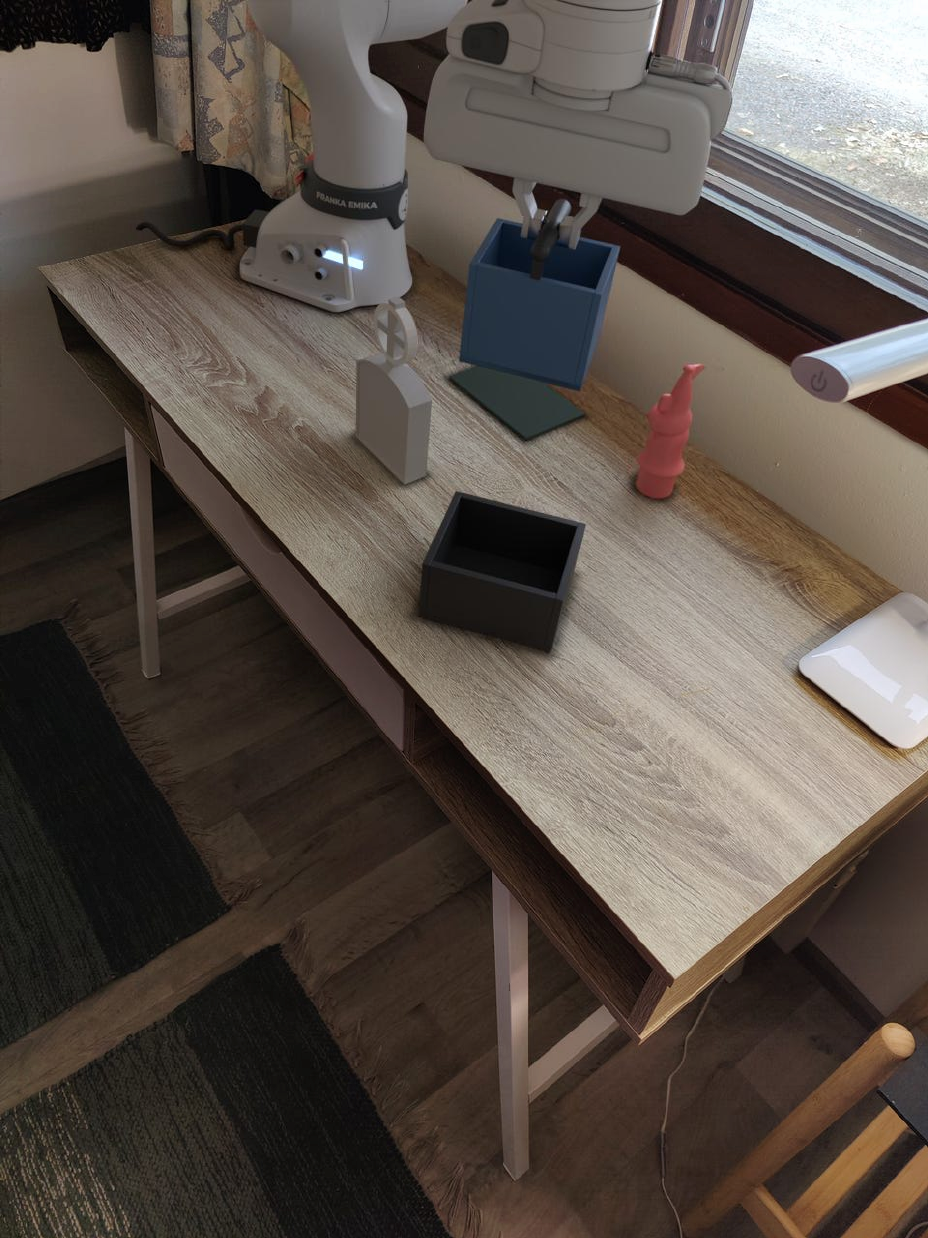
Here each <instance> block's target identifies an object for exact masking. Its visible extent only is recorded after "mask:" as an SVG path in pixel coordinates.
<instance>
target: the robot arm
mask: <svg viewBox="0 0 928 1238" xmlns="http://www.w3.org/2000/svg"><path fill="white" fill-rule="evenodd" d="M245 1H246V5H247V8H248V9H247V10H248V11H249V15H250V17H251V19H252V21H253V22H254V24H255V26H256V27H257V29H258V30H259V32H260V34H261V35H263V37H264V38H265V39H266V40H267V41H268V42H269V43H270V44H272V45H273V46H274V47H276V48H277V49H278V50H279V51H280V52H282V54H283V55H284V56H286V58H287V59H288V60H289V61H290V62H291V64H292V65H293V66H294V68H295V69H296V71H297V74H298V75H299V77H300V79H301V81H302V84H303V87H304V89H305V92H306V95H307V100H308V104H309V111H310V121H311V137H312V152H311V153H310V154H309V155H308V156H307V158H306V162H305V163H304V164H303V165H301V166H300V168H299V172H297V174H296V175H295V176H294V178H293V179H294V180H295V182H294V187H295V188H297V187H298V186H299V187H300V190H298V191H297V192H296V193H294V194H292V195H291V196H289V197H288V198H286V199H284V200H283V201H282V202H280V203H279V204H277V205H276V206H275V207H273V208H272V209H271V210H270V211H266V210H261V209H256V208H255V209H254V210H253V211H252V213H251V214H249V216H248V217H247V218H246V219H245V220H244V221H243V222H242V223H241V224H237V225H234V226H232V227H230V229H229V230H228V232H227V234H226V233H225V232H224V231H222V230H219V229H208V230H204V231H202V232H201V233H198V234H197V235H195V236H193V237H191V238H189V239H185V240H177V239H173V238H170V237H168V236H167V235H165V234H164V233H162V231H161V230H159V228H157V226H155V225H154V224H153V223H151V222H149V221H142V222H140V223H139V224H138V225H137V226H136V227H135V230H136V231H143V230H144V229H148V230H150V231H151V232H152V233H153V234H154V235H155V236H156V237H157V238H158V239H159V240H160V241H162V242H164V243H165V244H167V245H168V246H172V247H177V248H187V247H191V246H193V245H196V244H197V243H199V242H201V241H202V240H205V239H207V238H209V237H219V238H221V239H222V241H223V243H224V245H225V248H226V249H227V250H230V251H231V250H232V249H234V248H235V235H236V234H237V233H238V232H242V241H243V246H245V247H248V249H246V250H245V252H244V253H243V254H242V257H241V259H240V262H239V276H240V278H241V279H242V280H243V281H245V282H247V283H251V284H253V285H257V286H259V287H262V288H265V289H268V290H270V291H273V292H276V293H278V294H282V295H284V296H287V297H290V298H292V299H296V300H298V301H301V302H304V303H306V304H309V305H312V306H315V307H316V308H319V309H323V310H326V311H327V312H328V311H329V312H332V313H342V312H345V311H348V310H351V309H354V308H358V307H366V306H367V307H368V306H376V305H377V306H378V305H379V304H381V303H384V302H388V299H390V298H394V297H397V296H399V297H400V298H401V297H402V296H404V295H406V294H407V293H408V292H409V290H411V288H412V285H413V276H412V273H411V269H410V265H409V258H408V252H407V243H406V232H405V231H406V228H405V222H406V220H407V215H408V209H409V208H408V206H409V174H408V170H407V169H406V157H407V156H406V154H407V152H406V151H407V134H408V133H407V131H408V111H407V107H406V105H405V103H404V100H403V98H402V96H401V94H400V93H399V92H398V91H397V89H395V87H394V86H393V85H391V84H390V83H388V82H387V81H386V80H384V79H382V78H380V77H379V76H377V75H375V74H373V73H371V70H370V64H369V49H370V47H371V46H372V45H376V44H384V43H393V42H402V41H409V40H417V39H418V40H419V39H423V38H425V37H427V36H430V35H432V34H435V33H438V32H440V31H442V30H445V29H446V38H445V39H446V40H445V41H446V42H445V43H446V49H447V52H448V53H449V54H448V55H447V56H446V57H445V58H444V59H443V61H442V62H440V64H439V66H438V67H437V69H436V70H435V73H434V76H433V78H432V82H431V86H430V91H429V96H428V100H427V106H426V112H425V120H424V127H423V128H424V129H423V144H424V146H425V147H426V150H427V151H428V153H429V154H430V157H431V158H432V159H433V160H436V161H440V162H445V163H449V164H454V165H458V166H462V167H467V168H471V169H475V170H479V171H483V172H488V173H493V174H497V175H501V176H506V177H510V178H513V183H512V191H511V192H512V195H513V197H514V200H515V201H516V204H517V207H518V210H519V211H520V214H521V216H522V217H523V218H522V231H521V237H523V238H526V239H531V240H536V238H537V236H538V234H539V232H540V230H541V228H542V226H543V225H544V223H545V221H546V219H547V217H548V210H545V209H541V208H538V205H537V202H536V200H535V196H534V194H533V190H534V189H535V186H536V185H537V184H541V185H545V186H550V187H554V188H558V189H562V190H567V191H571V192H576V193H580V198H579V203H578V205H579V207H581V209H580V210H579V211H578V212H577V213H576V214H575V216H571V215H569V216H567V215H564V217H563V220H562V221H561V223H560V226H559V231H558V234H559V236H558V238H557V243H556V245H557V246H561V247H565V248H569V249H574V250H575V248H576V246H577V244H578V241H579V237H581V232H582V228H583V227H584V226H585V225H586V224H587V223H588V221H590V219H591V218H592V217H593V216H594V215H595V214H596V213H597V212H598V209H599V207H600V206H601V203H602V201H603V199H607V200H611V201H615V202H619V203H624V204H627V205H628V204H629V205H632V206H637V207H641V208H645V209H651V210H654V211H659V212H662V213H663V212H664V213H666V214H667V213H668V214H672V215H677V216H684V215H686V214H687V213H689V212H690V211H692V210H693V209H694V208H696V207H697V205H698V204H699V201H700V198H701V194H702V191H703V187H704V182H705V179H706V173H707V169H708V163H709V158H710V153H711V146H712V141H713V140H715V139H716V138H718V137H719V136H720V135H721V134H722V132H723V131H724V129H725V127H726V125H727V122H728V119H729V116H730V112H731V110H732V106H733V101H734V100H733V99H734V95H733V89H732V87H731V84H730V82H729V81H728V80H727V79H726V78H725V77H724V76H723V75H722V74H720V73H718V67H716V66H714V65H712V64H708V63H706V62H705V63H704V62H698V63H696V62H691V61H686V60H683V59H681V58H678V57H675V56H672V55H671V56H670V55H667V54H666V55H665V54H661V53H658V52H654V51H653V50H652V47H653V43H654V38H655V33H656V28H657V24H658V20H659V15H660V11H661V8H662V3H663V0H471V1H469V2H468V0H245ZM715 81H716V82H717V83H718V84H715ZM719 84H720V85H719Z"/></svg>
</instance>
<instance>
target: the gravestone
mask: <svg viewBox="0 0 928 1238" xmlns="http://www.w3.org/2000/svg"><path fill="white" fill-rule="evenodd" d="M373 330H374V334H375V339H376V342H377V344H378V347H379V350H380V351H381V352H379V353H376V354H373V355H370V356H366V357H363V358H360V359H357V360H355V370H356V371H355V437H356V438H357V440H359V441H360V443H362V444H363V446H365V447H366V448H367V449H368V450H369V451H370V452H371V453H372V455H374V456H375V457H376V458H377V459H378V460H379V461H380V462H381V463H382V464H383V465H384V466H385V467H386V468H387V469H388V470H389V471H390V472H391V473H392V474H393V475H394V476H395V477H396V478H397V479H398V480H399V481H400V482H401V483H403V485H407V484H410V483H413V482H415V481H417V480H419V479H422V478H425V477H427V473H428V472H427V470H428V458H429V444H430V432H431V422H432V421H431V419H432V407H433V399H432V397H431V394H430V393H429V390H428V389H427V387H426V385H425V383H424V382H423V380H422V378H420V376H419V375H418V374H417V373H416V371H415V370H414V369H413V368H412V367H411V366H410V365H409V364H408V363H410V362H413V361H414V360H415V358H416V357H417V354H418V350H419V336H418V331H417V327H416V323H415V321H414V318H413V317H412V315H411V313H410V311H409V310H408V308H407V307H406V301H405V300H403V299H402V298H401V297H399V296H397V297H394V298H390V299H388V302H384V303H381V304H377V306H376V308H375V310H374V314H373Z"/></svg>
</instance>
